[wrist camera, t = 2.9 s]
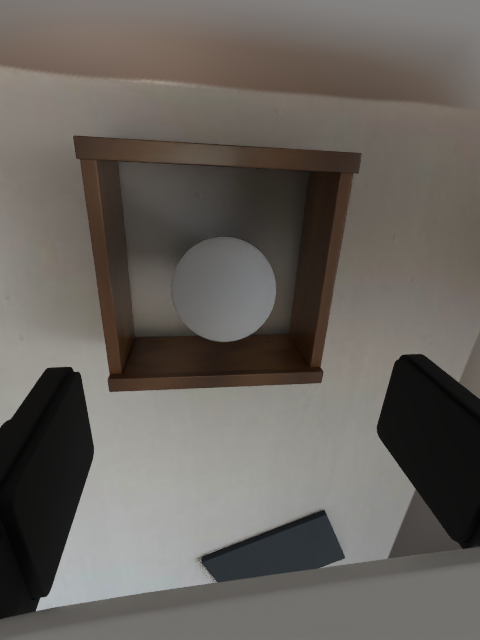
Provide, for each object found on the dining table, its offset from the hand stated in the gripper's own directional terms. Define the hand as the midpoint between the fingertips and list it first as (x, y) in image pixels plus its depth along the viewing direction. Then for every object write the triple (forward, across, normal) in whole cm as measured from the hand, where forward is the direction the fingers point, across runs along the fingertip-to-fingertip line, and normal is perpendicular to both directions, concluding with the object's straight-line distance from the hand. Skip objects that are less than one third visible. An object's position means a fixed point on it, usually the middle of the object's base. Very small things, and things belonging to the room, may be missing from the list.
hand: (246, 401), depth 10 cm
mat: (+17, -9, +38) cm, 42 cm away
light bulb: (+17, 0, 0) cm, 17 cm away
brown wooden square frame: (+17, 0, 0) cm, 17 cm away
